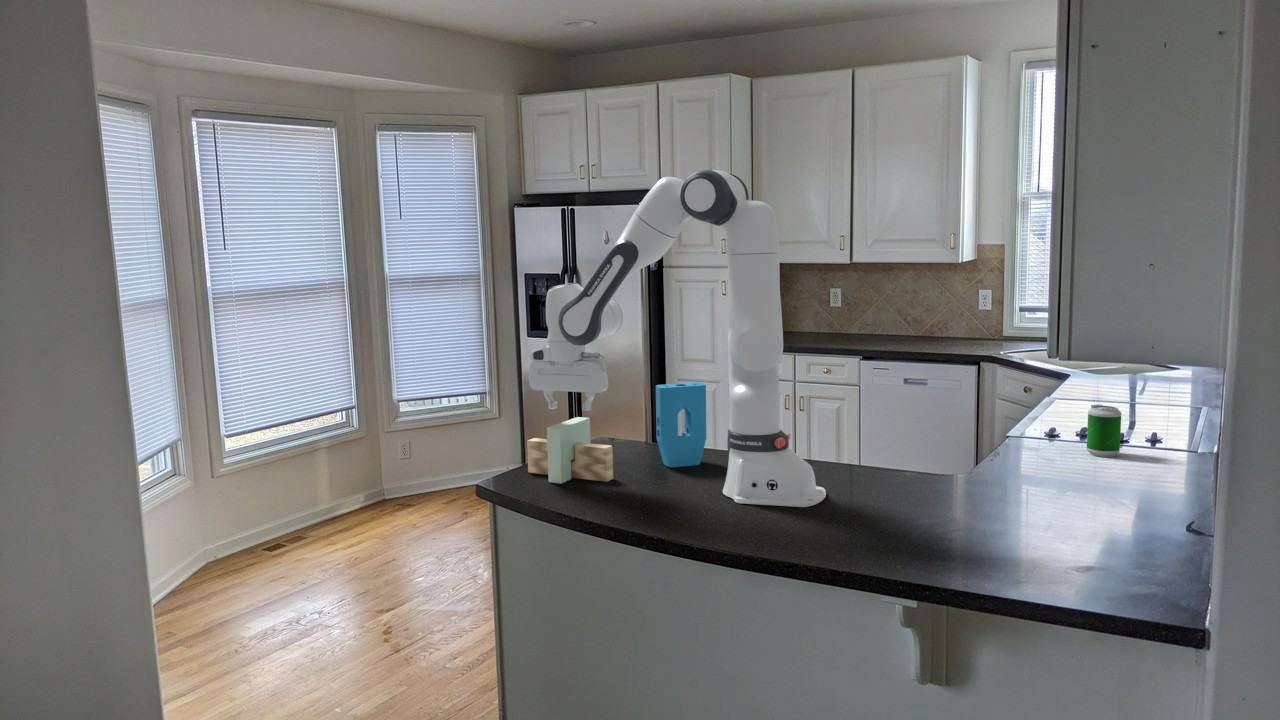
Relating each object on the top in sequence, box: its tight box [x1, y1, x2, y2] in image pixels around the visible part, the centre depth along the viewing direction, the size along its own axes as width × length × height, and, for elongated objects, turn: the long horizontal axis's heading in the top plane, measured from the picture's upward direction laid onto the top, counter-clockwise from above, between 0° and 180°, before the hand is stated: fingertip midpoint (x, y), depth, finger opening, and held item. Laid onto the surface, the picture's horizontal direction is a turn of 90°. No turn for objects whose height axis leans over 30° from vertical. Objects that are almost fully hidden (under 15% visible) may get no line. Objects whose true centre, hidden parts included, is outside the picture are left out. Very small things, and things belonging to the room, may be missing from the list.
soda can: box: [1086, 405, 1122, 458], centre depth 240 cm, size 8×8×12 cm
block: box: [655, 382, 707, 468], centre depth 237 cm, size 12×5×20 cm, turn 106°
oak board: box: [526, 437, 614, 483], centre depth 229 cm, size 22×3×8 cm, turn 63°
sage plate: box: [546, 416, 592, 484], centre depth 228 cm, size 4×14×13 cm, turn 153°
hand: (569, 409), depth 227 cm, fingers open, 8 cm apart
